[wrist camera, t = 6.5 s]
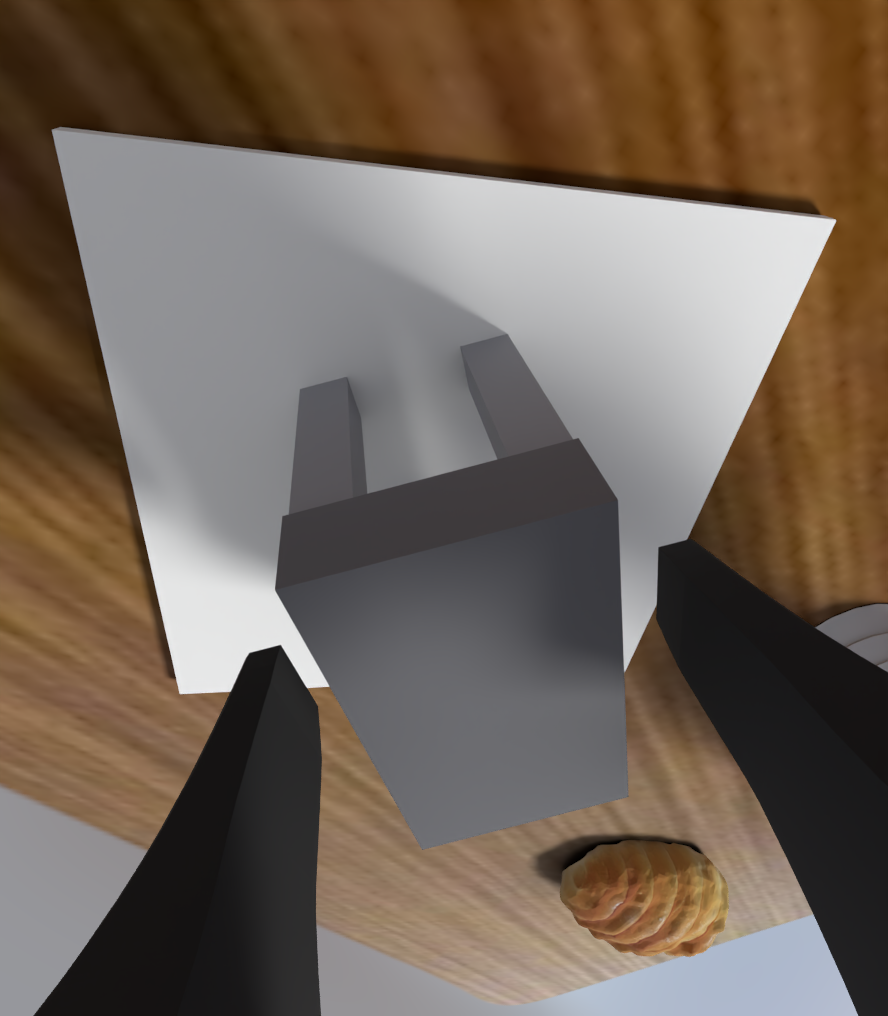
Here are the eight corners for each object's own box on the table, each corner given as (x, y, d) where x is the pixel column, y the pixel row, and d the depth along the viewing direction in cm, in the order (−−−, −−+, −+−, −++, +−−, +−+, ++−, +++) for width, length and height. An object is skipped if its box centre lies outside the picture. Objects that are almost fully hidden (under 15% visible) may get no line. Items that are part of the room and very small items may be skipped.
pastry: (521, 878, 31) (542, 966, 28) (616, 815, 28) (651, 906, 25) (633, 899, 35) (662, 977, 32) (725, 847, 33) (765, 927, 30)
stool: (546, 590, 17) (628, 796, 12) (396, 629, 17) (422, 849, 12) (506, 324, 12) (617, 499, 7) (296, 380, 12) (274, 589, 7)
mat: (823, 215, 12) (836, 220, 12) (620, 662, 20) (625, 672, 20) (60, 126, 9) (51, 129, 9) (182, 682, 18) (179, 694, 17)
